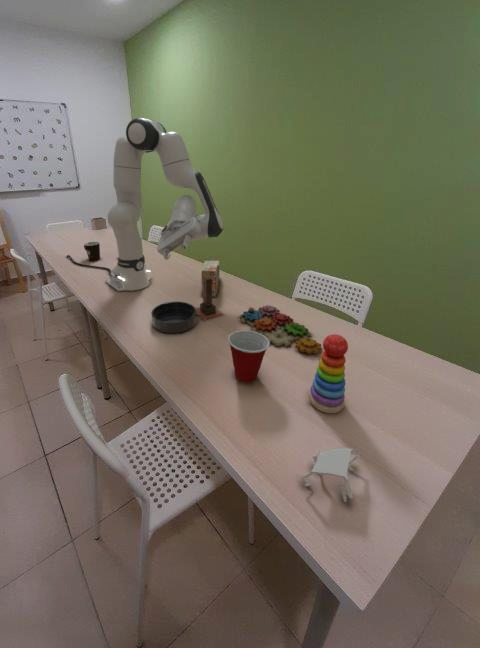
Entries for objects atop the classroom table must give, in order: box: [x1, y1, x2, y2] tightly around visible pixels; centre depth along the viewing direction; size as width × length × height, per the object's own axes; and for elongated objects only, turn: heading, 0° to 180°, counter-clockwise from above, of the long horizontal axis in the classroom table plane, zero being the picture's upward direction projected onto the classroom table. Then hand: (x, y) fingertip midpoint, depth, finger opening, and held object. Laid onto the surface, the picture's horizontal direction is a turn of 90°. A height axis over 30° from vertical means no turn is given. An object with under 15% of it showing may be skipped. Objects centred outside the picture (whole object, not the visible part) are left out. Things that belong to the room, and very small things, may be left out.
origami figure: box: [299, 447, 360, 503], centre depth 55 cm, size 12×8×5 cm
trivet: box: [195, 307, 222, 321], centre depth 116 cm, size 8×8×1 cm
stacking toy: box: [308, 333, 349, 414], centre depth 69 cm, size 8×8×19 cm
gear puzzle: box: [239, 304, 323, 355], centre depth 101 cm, size 31×16×4 cm, turn 25°
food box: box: [201, 260, 220, 298], centre depth 136 cm, size 21×6×12 cm, turn 171°
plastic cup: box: [227, 329, 271, 384], centre depth 80 cm, size 11×11×12 cm
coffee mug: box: [83, 241, 101, 262], centre depth 181 cm, size 12×9×10 cm
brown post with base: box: [199, 277, 217, 316], centre depth 113 cm, size 5×4×14 cm
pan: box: [150, 301, 198, 334], centre depth 109 cm, size 16×16×4 cm
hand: (175, 252), depth 106 cm, fingers open, 8 cm apart
